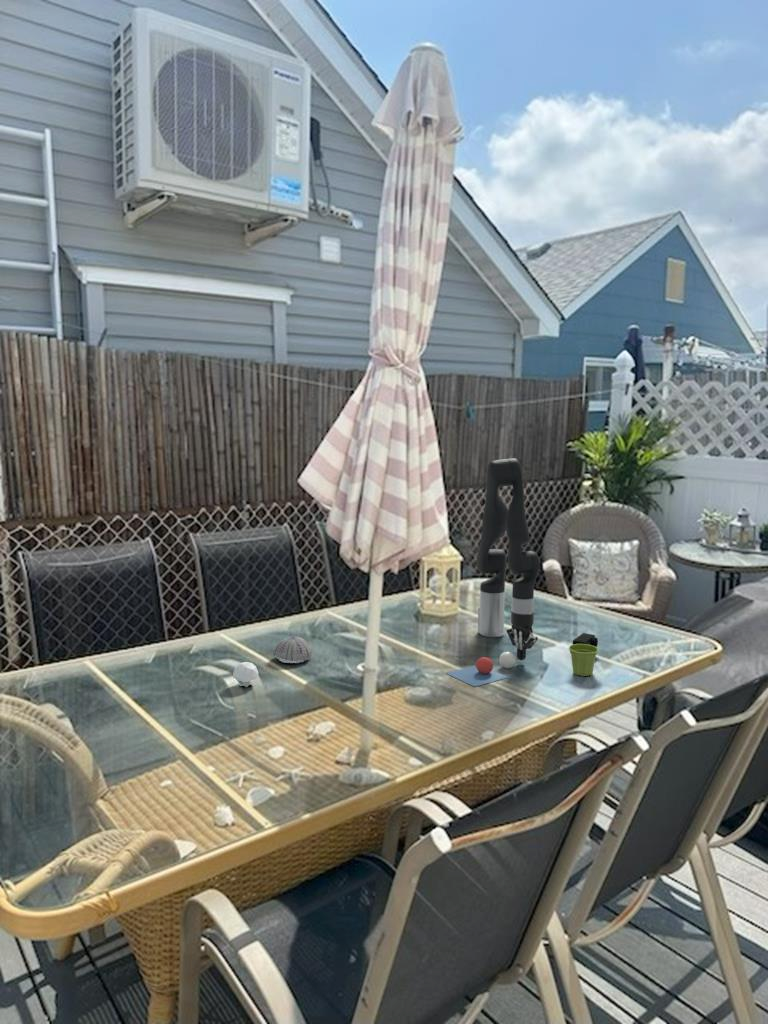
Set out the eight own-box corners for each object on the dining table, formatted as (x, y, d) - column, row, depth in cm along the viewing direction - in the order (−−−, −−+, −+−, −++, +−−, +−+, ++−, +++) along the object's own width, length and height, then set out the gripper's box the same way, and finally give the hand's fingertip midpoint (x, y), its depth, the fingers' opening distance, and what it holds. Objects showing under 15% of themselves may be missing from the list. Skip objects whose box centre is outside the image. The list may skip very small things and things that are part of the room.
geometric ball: (250, 696, 223) (252, 682, 218) (227, 685, 224) (228, 671, 219) (261, 677, 229) (263, 663, 223) (239, 667, 230) (241, 653, 224)
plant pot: (564, 675, 233) (565, 650, 231) (571, 666, 241) (572, 642, 240) (594, 680, 228) (595, 654, 227) (600, 671, 237) (601, 646, 235)
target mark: (446, 673, 235) (446, 673, 235) (478, 665, 242) (478, 664, 242) (474, 687, 223) (474, 686, 223) (507, 677, 231) (507, 677, 231)
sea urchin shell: (315, 654, 254) (315, 632, 253) (308, 667, 241) (307, 644, 240) (279, 652, 256) (278, 631, 254) (269, 666, 242) (268, 643, 241)
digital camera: (587, 662, 245) (588, 643, 244) (572, 659, 248) (572, 640, 247) (597, 654, 253) (598, 635, 252) (582, 651, 257) (583, 632, 256)
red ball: (485, 668, 238) (473, 673, 236) (484, 653, 238) (472, 657, 235) (497, 673, 234) (484, 678, 231) (496, 657, 233) (483, 662, 230)
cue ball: (508, 649, 243) (506, 665, 243) (497, 649, 240) (494, 666, 240) (520, 653, 239) (518, 669, 239) (508, 653, 236) (506, 670, 236)
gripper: (500, 607, 245) (499, 656, 247) (528, 616, 234) (527, 667, 236) (516, 604, 249) (515, 652, 251) (544, 612, 238) (543, 663, 240)
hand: (521, 659), depth 244 cm, fingers closed
